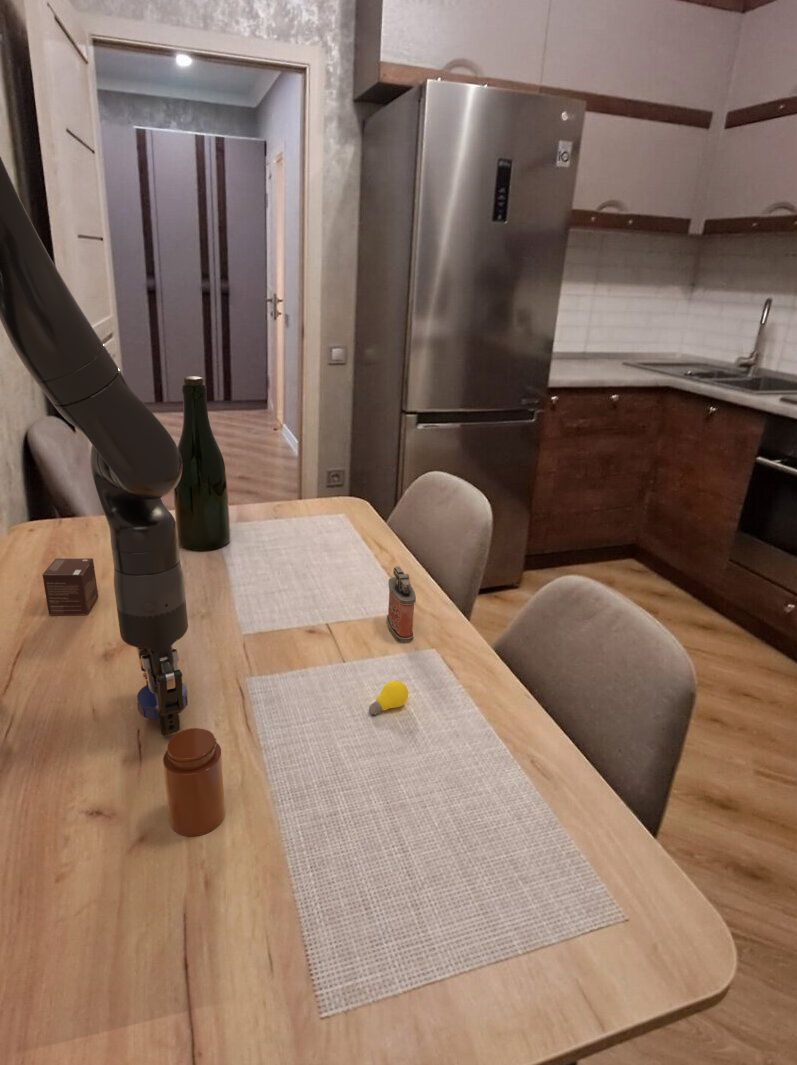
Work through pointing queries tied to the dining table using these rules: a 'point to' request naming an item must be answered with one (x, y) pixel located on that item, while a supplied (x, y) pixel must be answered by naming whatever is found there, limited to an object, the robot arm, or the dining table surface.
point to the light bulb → (390, 697)
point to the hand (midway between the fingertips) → (164, 716)
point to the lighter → (401, 606)
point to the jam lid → (154, 702)
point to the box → (70, 586)
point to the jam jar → (194, 782)
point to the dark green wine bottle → (200, 476)
